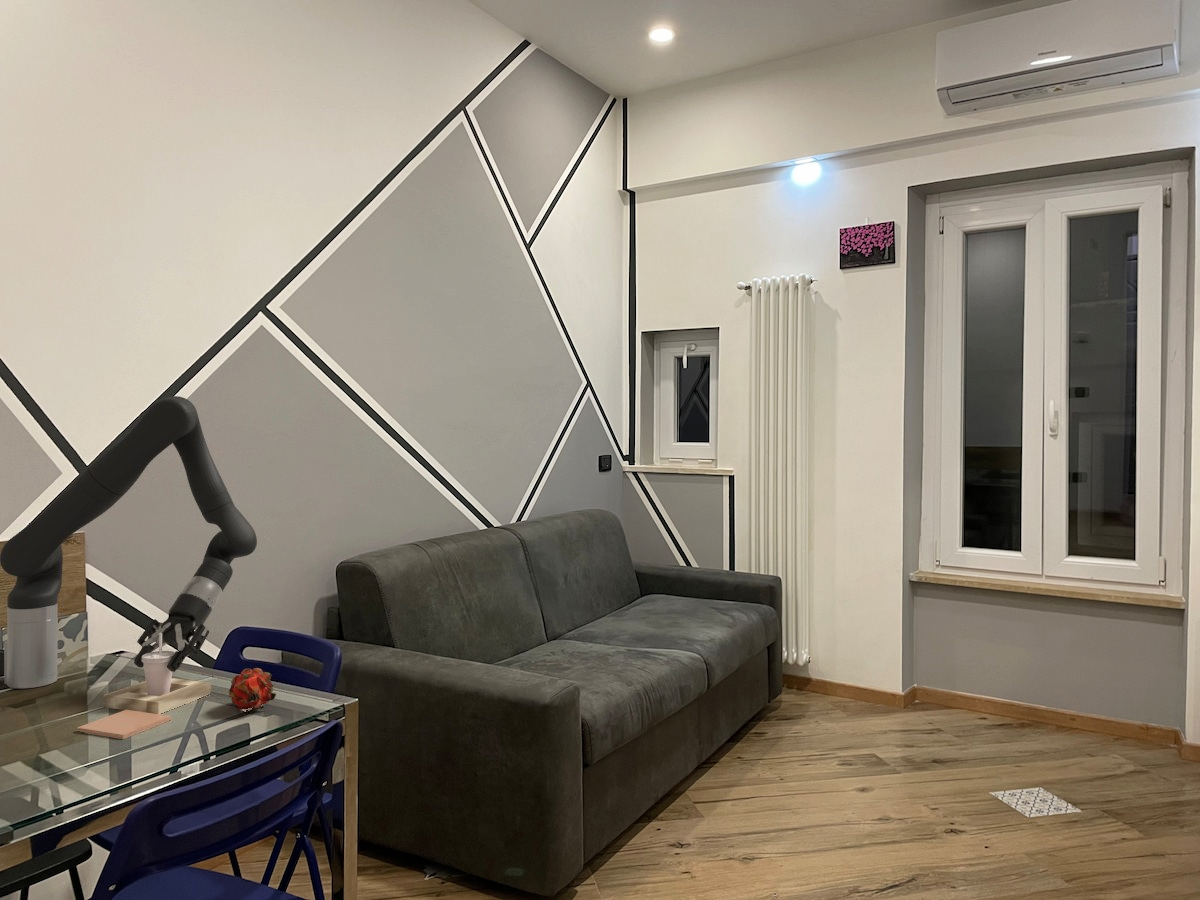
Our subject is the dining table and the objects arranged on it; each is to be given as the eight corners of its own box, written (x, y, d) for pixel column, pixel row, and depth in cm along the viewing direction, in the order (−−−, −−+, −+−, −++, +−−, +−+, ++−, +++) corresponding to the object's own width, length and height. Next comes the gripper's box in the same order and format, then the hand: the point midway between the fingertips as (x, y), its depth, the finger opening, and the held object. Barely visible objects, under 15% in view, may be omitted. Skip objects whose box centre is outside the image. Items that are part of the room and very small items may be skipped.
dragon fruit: (253, 705, 181) (256, 731, 170) (218, 686, 177) (219, 712, 167) (279, 672, 182) (284, 696, 171) (245, 652, 178) (247, 676, 168)
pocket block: (103, 707, 174) (103, 694, 173) (158, 687, 187) (158, 676, 187) (158, 715, 169) (158, 702, 169) (210, 694, 183) (210, 683, 182)
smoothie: (182, 696, 181) (182, 630, 181) (163, 706, 175) (164, 638, 174) (153, 695, 182) (153, 629, 181) (134, 704, 175) (134, 636, 175)
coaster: (77, 731, 159) (77, 727, 159) (126, 713, 170) (126, 709, 170) (123, 739, 156) (123, 734, 156) (170, 720, 166) (170, 716, 166)
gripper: (160, 589, 187) (116, 654, 176) (213, 594, 183) (171, 661, 172) (179, 609, 192) (137, 673, 181) (231, 614, 188) (191, 680, 177)
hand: (153, 667), depth 177 cm, fingers open, 8 cm apart
